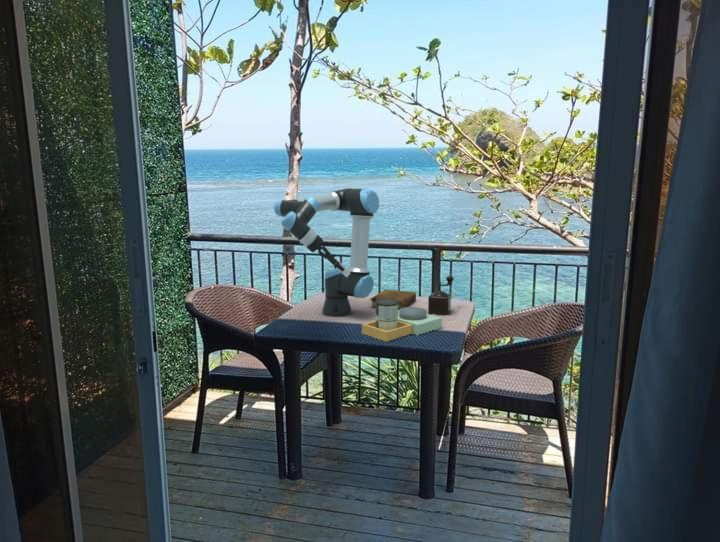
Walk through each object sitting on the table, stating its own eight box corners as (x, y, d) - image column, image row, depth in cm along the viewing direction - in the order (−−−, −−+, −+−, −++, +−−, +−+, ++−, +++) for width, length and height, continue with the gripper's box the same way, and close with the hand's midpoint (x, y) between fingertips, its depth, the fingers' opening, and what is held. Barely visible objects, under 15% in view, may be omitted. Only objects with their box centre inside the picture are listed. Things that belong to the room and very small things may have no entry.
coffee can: (371, 330, 264) (371, 300, 262) (387, 326, 271) (388, 297, 268) (385, 335, 257) (386, 305, 254) (402, 331, 263) (403, 301, 260)
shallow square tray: (361, 333, 265) (361, 324, 264) (387, 326, 275) (387, 317, 275) (386, 342, 253) (386, 332, 252) (412, 334, 263) (412, 324, 262)
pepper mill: (449, 316, 293) (449, 281, 289) (427, 314, 296) (428, 280, 293) (453, 308, 307) (454, 275, 304) (433, 306, 311) (433, 274, 307)
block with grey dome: (384, 325, 278) (384, 309, 276) (408, 318, 289) (408, 303, 287) (417, 335, 262) (417, 318, 260) (441, 328, 272) (442, 311, 271)
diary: (403, 312, 303) (403, 301, 302) (370, 309, 310) (370, 298, 308) (415, 301, 324) (416, 291, 323) (384, 298, 330) (384, 289, 329)
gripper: (302, 242, 265) (335, 272, 271) (309, 251, 241) (345, 284, 247) (313, 230, 265) (346, 260, 271) (321, 238, 241) (356, 271, 247)
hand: (345, 272), depth 259 cm, fingers open, 13 cm apart
